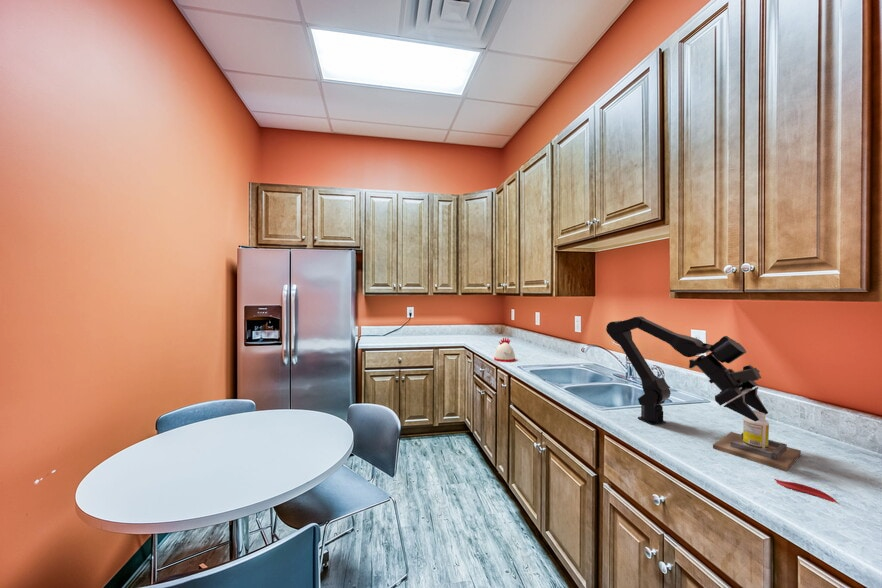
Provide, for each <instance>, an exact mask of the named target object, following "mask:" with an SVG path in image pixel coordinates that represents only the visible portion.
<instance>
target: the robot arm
mask: <svg viewBox="0 0 882 588" xmlns="http://www.w3.org/2000/svg"><path fill="white" fill-rule="evenodd" d="M635 329H639V330H640V331H643V332H644V333H646V334H648V335H651V336H653V337H655V338H657V339H659V340H661V341H662V342H664V343H666V344H668V345H670V347H672V348H673V349H674V351H676V352H678V353H679V354H681V355H682V356H683V357H686V358H692V359H689V364H688V368H689V369H693V368H695V367H697V368H698V369H699V370H700V372H702V373H704V375H705V376H706V377H707V378H708V382H709V383H710V384H714V385H715V386H716V387H717V388H718V389H719V390H720V391H719V393H718V394H716V395H715V396H714V401H715V402H716V403H717V404H718V405H719V406H722V405H723V407H724V408H727V409H729V410H730V411H733V412H736V413H737V414H739V415H742V416H744V417H747V418H749V419H751V420H753V421H758V420H759V419H758V417H757V416H756V415H755V413H754V412H753V411H754V410H753V411H752V409H755V411H758V412H762V413H764V414H765V415H767V414H769V411H768V410H767V409H766V406H765V405H764V404H763V402H762V401H761V399H760V397H759V395H758V389H759V386H758V385H759V384H757V382H756V381H759V380H760V379H762V375H760V370H759V369H757V367H754V366H752V365H750V364H747V365H744V366H743V367H742V370H739V371H738V370H737V371H735V370H733V369H732V368H727V367H726V366H725V365H724V363H726V364H731V363H733V362H734V361H736V360H737V359H738V358H740V357H741V356H744V355H745V354H746V353H747V351H746V348H745V347H744V346H743V345H742V344H740V342H738V341H736V340H735V339H732V338H731V337H729V335H724V336H722V337H721V338H719V340H718V341H716V342H715V343H714V344H709V343H705V342H703V341H702V340H700V339H699V338H695V337H692V336H689V335H685V334H680V333H677V332H674V331H672V330H670V329H668V328H667V327H664V326H662V325H659V324H657V323H655V322H653V321H651V320H649V319H647V318H645V317H643V316H642V315H639V316H634V317H631V318H629V319H625V320H616V321H610V322H608V323H607V324H606V328H605V331H606V333H607V335H608V336H609V337H610V338H611V339H612V340H613V341H614V342H616V344H618V345H619V346H620V347H621V349H622V351H623V352H624V354H625V355H626V357H627V359H628V360H629V362H630V363H631V365H632V367H633V369H634V370H635V371H636V373H637V375H638V377H639V379H640V381H641V389H642V391H643V394H642V395H640V397H638V398H637V400H638V403H639V405H641V409H640V411H641V413H640V416H637V419H638V420H641V421H642V422H645V423H647V424H649V425H661V424H666V423H667V420H666V421H665V420H664V407H663V405H662V404H664V403H665V402H666V400H668V399H670V397H671V386H670V385H668V384H667V381H666V379H665V378H664V377H660V378H659V377H658V376H657V375H655V373H654V372H653V370H652V369H651V368H650V366H649V363H648V362H647V361H646V359H645V358H644V356H643V355H642V352H641V351H640V350H639V348H638V346H637V345H636V343H635V342H634V340H633V335H632V330H635ZM706 353H708V354H707V355H704V354H706ZM697 356H698V357H697ZM693 357H697V358H695V359H693Z"/></svg>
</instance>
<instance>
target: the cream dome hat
mask: <svg viewBox="0 0 882 588" xmlns="http://www.w3.org/2000/svg"><path fill="white" fill-rule="evenodd" d="M510 342H511V339H510V338H509V337H503V338H502V339H500V340H499V341H498V343H499V345H497V347H496V348H495V352H494V354H493V355H494V357H493V361H496V362H501V363H510V362H511V363H512V362H515V361H516V355H515V351H514V348H513V347H512V346H511V345H510Z"/></svg>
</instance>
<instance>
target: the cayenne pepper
mask: <svg viewBox="0 0 882 588" xmlns="http://www.w3.org/2000/svg"><path fill="white" fill-rule="evenodd" d="M773 479H774V481H776V484H777V485H780V486H782V487H783V486H784V487H783V488H786V489H789V490H791V489H792V491H795V492H800V493H803V494H806V495H810V496H813V497H818V498H819V499H822V500H825V501H828V502H832V503H835V504H838V505H840V503H839V502H838V501H837V500H836V499H834V497H832V496H831V495H829V494H828V493H826V492H824V491H822V490H821V489H817V488H815V487H812V486H808V485H806V484H802V483H798V482H793V481H792V482H791V481H784V480H779V479H776V478H773Z"/></svg>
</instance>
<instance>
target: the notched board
mask: <svg viewBox="0 0 882 588" xmlns="http://www.w3.org/2000/svg"><path fill="white" fill-rule="evenodd" d="M712 449H714V450H717V451H720V452H723V453H726V454H730V455H733V456H735V457H736V456H737V457H739V458H742V459H746V460H749V461H751V462H755V463H759V464H762V465H765V466H768V467H771V468H775V469H778V470H781V471H784V472H787V471H788V470H789V469H790V468H791V467H792V466H793V465H794V463H795V462H796V461H797V460H798V459H799V457H800V456H801V455H802V450H800V449H796V448H793V447H789V446H788V445H787V444H786V443H783V442H779V441H775V440H772V439H768V449H767V450H762V449H759V448H755V447H752V446H748V445H745V444H744V443H743V432H742V433H738V432H734V431H731V432H729V433H727V434H726V435H725V436H723V437H722V438H720V439H719V440H717V441H715V442H714V443H713V444H712ZM800 454H801V455H800ZM797 458H798V459H797ZM796 459H797V460H796ZM795 460H796V461H795ZM791 465H792V466H791Z"/></svg>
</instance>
